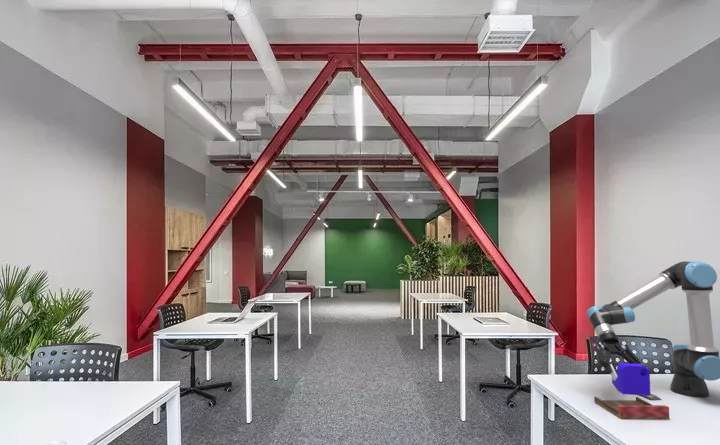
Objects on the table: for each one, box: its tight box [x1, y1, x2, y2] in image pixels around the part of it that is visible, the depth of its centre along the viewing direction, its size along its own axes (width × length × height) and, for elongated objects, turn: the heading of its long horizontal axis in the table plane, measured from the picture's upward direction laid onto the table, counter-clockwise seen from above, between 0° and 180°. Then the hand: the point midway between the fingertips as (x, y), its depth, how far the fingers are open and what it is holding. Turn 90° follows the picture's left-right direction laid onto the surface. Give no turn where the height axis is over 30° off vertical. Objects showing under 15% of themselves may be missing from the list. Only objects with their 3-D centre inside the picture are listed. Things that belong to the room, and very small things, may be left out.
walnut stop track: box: [593, 396, 670, 421], centre depth 186 cm, size 20×20×5 cm
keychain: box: [642, 393, 662, 401], centre depth 209 cm, size 8×19×2 cm, turn 10°
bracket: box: [611, 362, 651, 396], centre depth 189 cm, size 18×11×12 cm, turn 175°
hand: (628, 379), depth 186 cm, fingers closed on bracket, 10 cm apart
